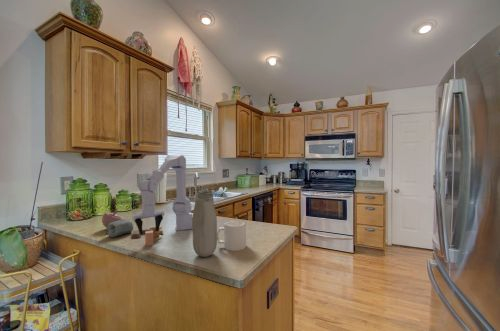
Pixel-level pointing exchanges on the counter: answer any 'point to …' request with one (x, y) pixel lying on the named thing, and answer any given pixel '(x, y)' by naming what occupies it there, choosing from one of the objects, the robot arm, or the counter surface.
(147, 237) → the salmon pink cuboid
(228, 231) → the mug
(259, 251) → the counter surface
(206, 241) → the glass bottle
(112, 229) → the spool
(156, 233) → the bobbin
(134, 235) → the notched board
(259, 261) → the counter surface
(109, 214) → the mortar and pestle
